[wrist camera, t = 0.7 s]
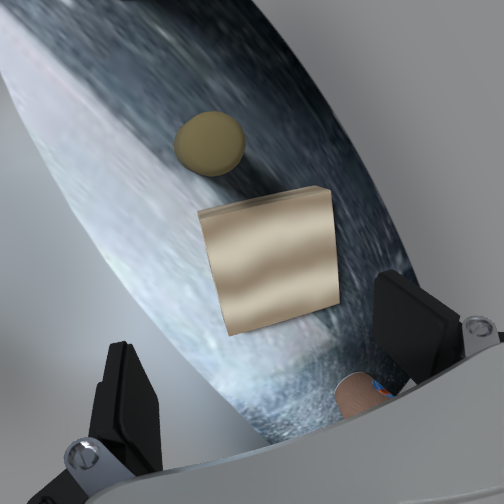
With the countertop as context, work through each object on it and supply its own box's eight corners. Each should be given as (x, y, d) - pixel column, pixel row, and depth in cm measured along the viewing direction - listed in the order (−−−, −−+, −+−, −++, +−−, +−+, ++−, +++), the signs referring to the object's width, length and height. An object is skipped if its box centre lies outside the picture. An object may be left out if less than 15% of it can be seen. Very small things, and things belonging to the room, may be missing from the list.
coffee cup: (381, 384, 52) (416, 425, 41) (335, 415, 52) (364, 461, 41) (368, 352, 48) (409, 397, 37) (316, 387, 48) (348, 439, 37)
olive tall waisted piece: (241, 140, 33) (271, 137, 23) (206, 183, 34) (221, 200, 24) (198, 106, 31) (209, 87, 21) (162, 150, 31) (156, 151, 21)
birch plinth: (197, 211, 34) (200, 219, 31) (315, 185, 37) (330, 190, 33) (223, 319, 40) (229, 336, 36) (325, 289, 42) (339, 303, 38)
